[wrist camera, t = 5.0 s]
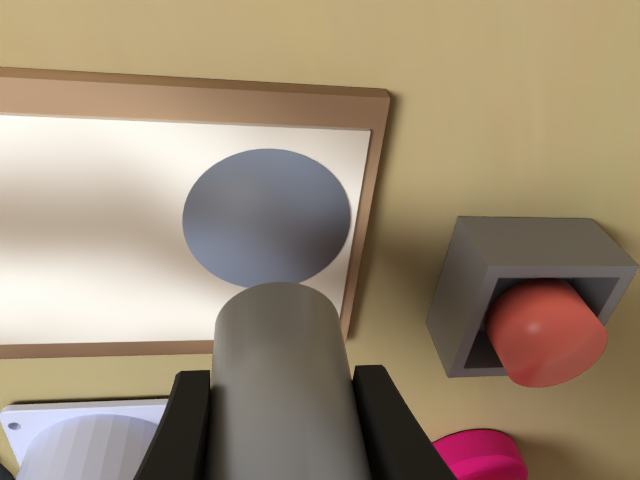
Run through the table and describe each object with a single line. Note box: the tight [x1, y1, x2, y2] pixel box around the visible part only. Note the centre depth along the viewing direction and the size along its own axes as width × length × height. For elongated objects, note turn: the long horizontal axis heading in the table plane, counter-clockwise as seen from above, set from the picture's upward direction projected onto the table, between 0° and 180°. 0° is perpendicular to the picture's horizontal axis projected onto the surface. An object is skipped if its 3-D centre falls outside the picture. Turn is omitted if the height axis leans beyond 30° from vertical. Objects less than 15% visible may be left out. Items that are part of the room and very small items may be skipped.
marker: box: [204, 282, 372, 480], centre depth 10 cm, size 3×3×8 cm
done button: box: [484, 278, 608, 387], centre depth 19 cm, size 4×4×2 cm
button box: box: [426, 217, 639, 378], centre depth 20 cm, size 6×6×3 cm
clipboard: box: [0, 67, 391, 359], centre depth 17 cm, size 11×15×2 cm
